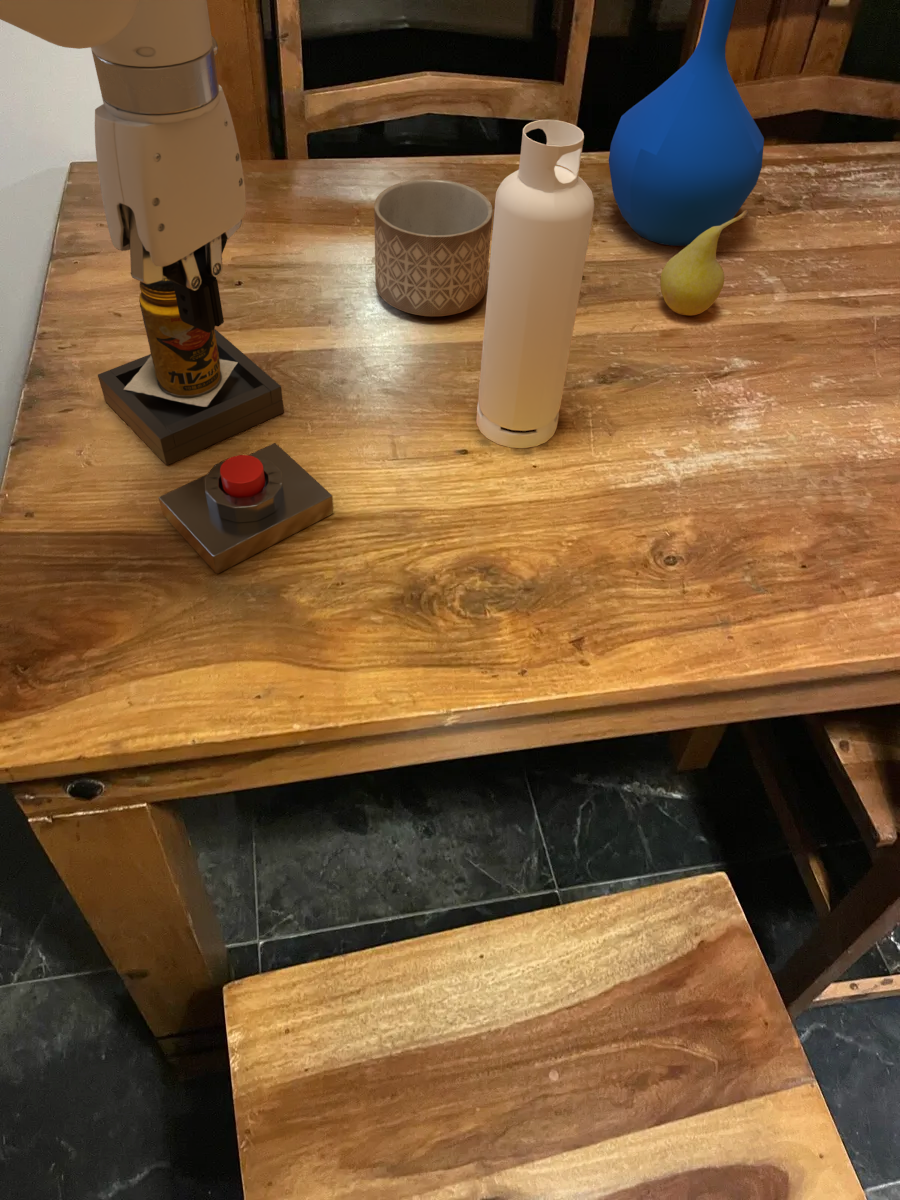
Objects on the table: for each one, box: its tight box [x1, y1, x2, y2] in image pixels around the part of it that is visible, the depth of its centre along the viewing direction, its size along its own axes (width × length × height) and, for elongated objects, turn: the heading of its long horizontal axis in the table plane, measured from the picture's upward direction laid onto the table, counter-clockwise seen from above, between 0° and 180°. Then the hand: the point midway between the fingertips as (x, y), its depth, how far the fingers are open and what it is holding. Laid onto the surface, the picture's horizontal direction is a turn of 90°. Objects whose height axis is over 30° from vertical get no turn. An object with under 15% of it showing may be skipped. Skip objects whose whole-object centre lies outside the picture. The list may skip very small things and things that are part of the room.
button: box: [220, 454, 265, 498], centre depth 79 cm, size 4×4×2 cm
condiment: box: [124, 262, 238, 407], centre depth 85 cm, size 7×8×12 cm
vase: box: [608, 0, 765, 247], centre depth 109 cm, size 18×18×30 cm
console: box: [158, 442, 334, 575], centre depth 81 cm, size 12×9×4 cm
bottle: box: [475, 119, 595, 449], centre depth 82 cm, size 8×8×28 cm
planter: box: [373, 178, 494, 317], centre depth 104 cm, size 13×13×10 cm
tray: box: [97, 328, 285, 466], centre depth 91 cm, size 13×12×3 cm
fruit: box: [659, 209, 749, 316], centre depth 103 cm, size 7×8×12 cm
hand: (202, 322), depth 75 cm, fingers closed
